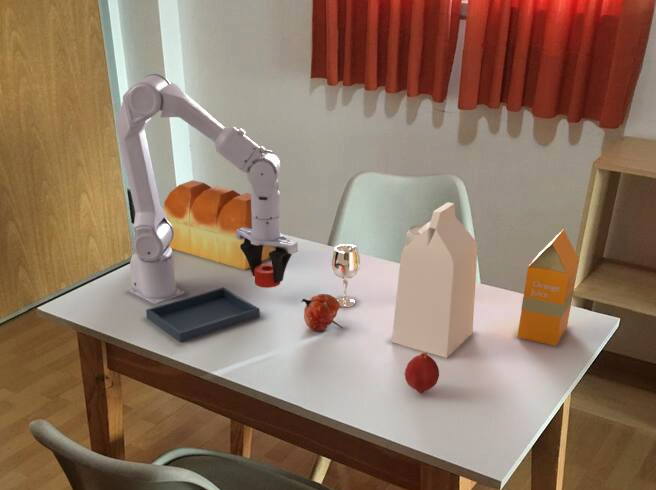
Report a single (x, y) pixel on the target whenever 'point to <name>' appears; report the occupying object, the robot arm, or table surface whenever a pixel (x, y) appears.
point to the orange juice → (549, 292)
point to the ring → (264, 276)
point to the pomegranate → (320, 311)
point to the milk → (436, 286)
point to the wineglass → (345, 268)
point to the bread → (210, 222)
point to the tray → (202, 314)
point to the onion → (422, 373)
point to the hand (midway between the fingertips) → (267, 278)
